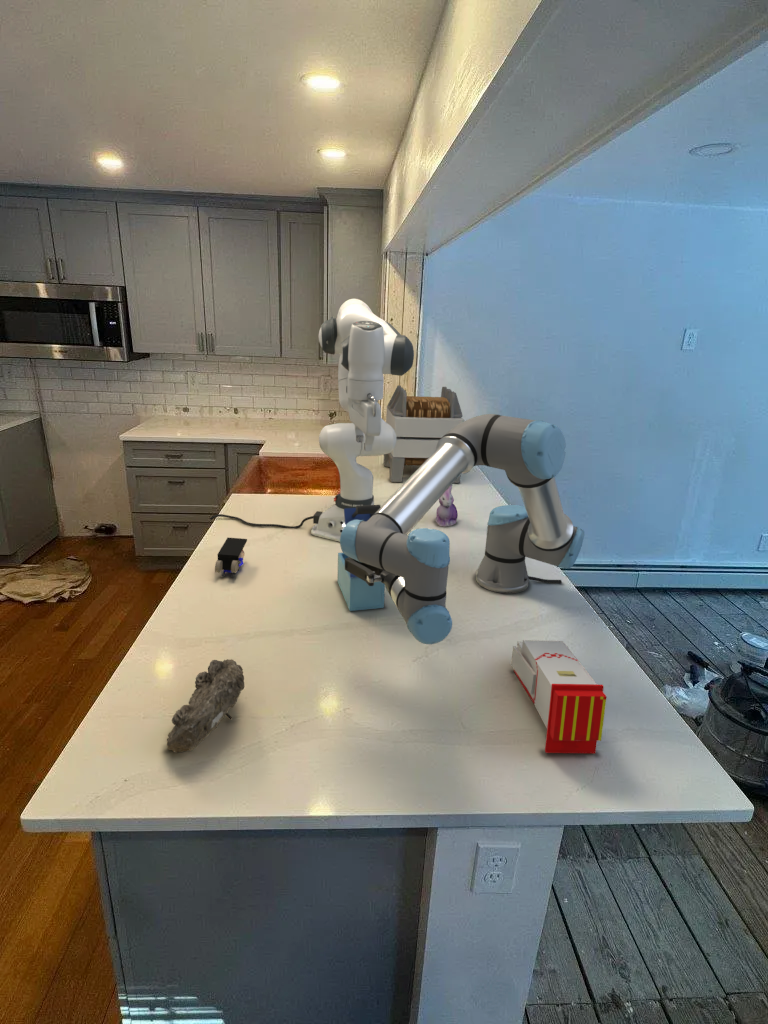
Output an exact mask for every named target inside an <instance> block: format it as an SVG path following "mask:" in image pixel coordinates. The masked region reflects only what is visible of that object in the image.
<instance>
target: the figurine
mask: <svg viewBox="0 0 768 1024" xmlns="http://www.w3.org/2000/svg"><path fill="white" fill-rule="evenodd" d="M452 489H453V484H452V485H451V486H450V487H449V488H448V489H447V490H446V491H445V493H444V494H443V495H442V496H441V497H440V498H439V499H438V503H439V506H438V507H437V508H436V513H435V515H436V517H435V521H434V522H435V523H436V524H437V526H440V527H450V526H454V525H455V524H457V520H458V517H459V516H458V514H459V513H458V510H457V507H456V505H455V504H454V502H455V498H454V495H453V493H452Z"/></svg>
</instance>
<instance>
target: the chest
mask: <svg viewBox="0 0 768 1024" xmlns="http://www.w3.org/2000/svg"><path fill="white" fill-rule="evenodd" d="M345 558H348V556H347V555H345V554H344V553H343V552H337V584H338V586H339V589H340V592H341V594H342V596H343V599H344V601H345V604H346V606H347V608H348V610H349V612H355V611H365V610H373V609H374V610H375V609H385V591H386V587H385V584H383V583H382V582H381V581H379V582H374V586H369V585H368V584H367V583H366V582H365V581H364V580H362V579H360V578H358V577H354V578H350V572H348V571H346V570H345Z"/></svg>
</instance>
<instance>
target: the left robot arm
mask: <svg viewBox="0 0 768 1024" xmlns="http://www.w3.org/2000/svg"><path fill="white" fill-rule="evenodd" d="M318 342H319V345H320V347H321V349H322V351H323V353H325V354H328V355H333V356H334V355H339V359H338V368H337V370H338V371H337V383H338V384H337V387H338V388H337V389H338V403H339V406H340V407H341V409H343V410H344V411H345V412H346V413H348V417H349V421H350V422H337V423H332V424H328V425H325V426H324V427H322V429H321V430H320V432H319V435H318V444H319V447H320V450H321V451H322V452H323V454H325V455H326V456H327V457H329V458H330V459H331V460H332V462H333V463H334V464H335V466H336V467H337V470H338V474H339V483H340V484H339V485H340V488H339V489H340V490H339V491H338V492H337V494H336V495H335V496H334V497H333V502H334V504H333V505H331V506H329V507H328V508H326V509H325V510H323V511H320V510H319V511H318V510H317V511H316V512H315V513H314V514H313V515H312V516H307V517H305V518H304V519H302V521H301V522H300V524H298V525H295V526H290V525H283V524H277V523H254V522H249V521H246V520H244V519H242V518H240V517H237V516H232V515H228V514H221V513H219V514H214V515H211V516H210V518H209V520H214V519H215V518H219V517H221V518H228V519H232V520H237V521H240V522H241V523H243V524H245V525H248V526H251V527H252V526H253V527H274V528H275V527H276V528H284V529H300V528H301V527H302V526H303V525H304V523H305V522H307V521H308V520H312V523H313V524H314V525H313V526H312V528H311V530H310V533H311V536H315V537H319V538H323V539H326V540H330V541H336V542H339V543H340V537H341V533H342V531H343V529H344V527H345V518H344V509H345V508H356V506H362V505H375V496H374V474H373V472H372V471H371V469H369V468H368V467H366V466H364V465H362V464H360V463H359V462H357V458H358V457H380V456H384V454H388V453H391V452H392V451H393V449H394V448H395V445H396V440H397V438H396V433H395V431H394V429H393V428H392V427H391V426H390V425H389V424H387V423H386V420H384V419H383V418H382V408H381V407H382V406H381V404H380V403H379V401H381V400H383V399H384V381H385V379H384V378H385V377H384V375H391V376H399V377H402V376H404V375H405V374H407V373H408V372H409V371H410V370H411V369H412V368H413V365H414V361H415V360H414V358H415V350H414V346H413V343H412V341H411V340H410V339H409V338H408V337H407V336H406V335H405V334H401V333H400V332H399V331H398V330H397V329H396V328H395V327H394V325H392V324H391V323H390V322H388V321H387V320H384V319H383V318H381V317H379V316H377V314H374V313H373V311H372V309H371V308H370V306H369V305H368V304H367V303H366V302H364V301H363V300H361V299H359V298H350V299H347V300H346V301H344V302H343V303H342V304H341V306H340V307H339V309H338V312H337V316H336V317H333V316H331V317H330V318H329V319H326V320H325V321H323V322H322V324H321V325H320V328H319V331H318Z"/></svg>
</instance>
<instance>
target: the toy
mask: <svg viewBox="0 0 768 1024" xmlns="http://www.w3.org/2000/svg"><path fill="white" fill-rule="evenodd" d="M510 666H511V667H512V669H513V673H514V674H515V676H516V677H517V680H518V681H519V682H520V684H521V686H522V687H523V689H524V690H525V692H526V694H527V696H528V697H529V699H530V700H531V702H532V703H533V705H534V707H535V710H536V711H537V713H538V714H539V717H540V718H541V720H542V722H543V724H544V726H545V728H546V734H545V735H546V736H545V745H544V752H545V754H596V752H597V743H598V742H601V741H602V737H603V729H604V720H605V713H606V705H607V695H606V693H605V692H604V687H605V686H604V685H603V684H598V683H597V682H596V681H595V679H593V677H592V676H591V674H589V672H588V671H587V670H586V668H585V666H583V664H582V663H581V662H580V661H579V660H578V658H577V656H576V655H575V654H574V653H573V651H572V650H571V649H570V648H569V646H568V645H567V644H566V643H565V642H564V641H563V640H539V639H538V640H537V639H536V640H535V639H534V640H533V639H532V640H530V639H529V640H528V639H523V640H522V641H517V643H516V646H512V652H511V659H510Z"/></svg>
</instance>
